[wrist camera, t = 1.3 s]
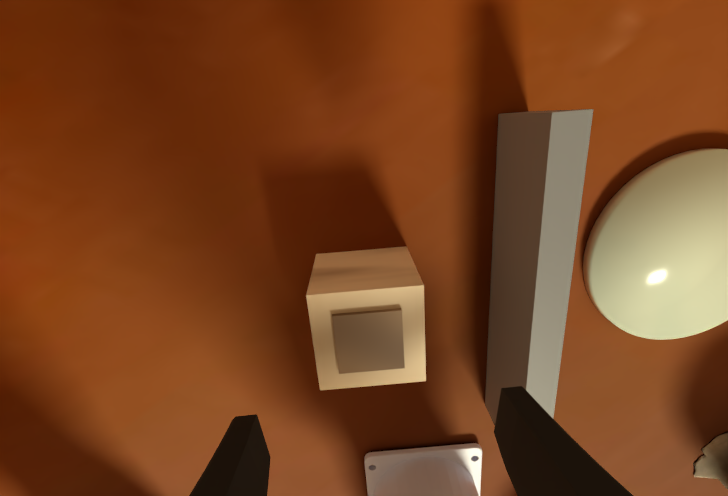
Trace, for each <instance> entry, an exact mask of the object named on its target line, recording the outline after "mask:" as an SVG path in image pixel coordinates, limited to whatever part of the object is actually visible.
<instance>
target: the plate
mask: <svg viewBox="0 0 728 496" xmlns="http://www.w3.org/2000/svg"><path fill="white" fill-rule="evenodd" d="M583 277H584V283H585V287H586V290H587V293H588V295H589V298H590V300H591V301H592V303H593V304H594V306H595V307H596V309H597V310H598V311H599V312H600V313H601V314H602V315H603V316H604V317H606V318H607V319H608V320H610V321H611V322H612V323H613V324H615V325H616V326H617V327H618V328H620V329H622V330H624V331H626V332H627V333H630V334H633V335H635V336H638V337H643V338H648V339H658V340H663V339H676V338H683V337H687V336H691V335H695V334H698V333H701V332H704V331H707V330H709V329H711V328H713V327H716V326H718V325H720V324H722V323H723V322H725V321H727V320H728V149H718V148H709V149H697V150H690V151H686V152H683V153H679V154H675V155H673V156H670V157H668V158H665V159H663V160H661V161H659V162H657V163H655V164H653V165H651V166H649V167H648V168H646V169H645V170H643V171H642V172H640V173H639V174H637V175H636V176H635V177H633V178H632V179H631V180H630V181H629V182H627V183H626V184H625V185H624V186H623V187H622V188H621V189H620V190H619V191H618V192H617V193H616V194H615V195H614V196H613V197H612V198H611V200H610V201H609V202H608V204H607V205H606V206H605V207H604V209H603V210H602V212H601V213H600V215H599V217H598V218H597V220H596V222H595V224H594V226H593V228H592V230H591V232H590V235H589V238H588V241H587V244H586V248H585V253H584V259H583Z"/></svg>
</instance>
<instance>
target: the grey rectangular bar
mask: <svg viewBox="0 0 728 496" xmlns="http://www.w3.org/2000/svg"><path fill="white" fill-rule="evenodd" d="M592 116H593V109H583V110H556V111H529V112H516V113H504V114H499V115H498V136H497V158H496V179H495V200H494V222H493V243H492V265H491V286H490V307H489V329H488V350H487V372H486V393H485V406H486V408H487V410H488V412H489V414H490V416H491V418H492V421H493V423H494V425H495V423H496V417H497V411H498V405H499V399H500V393H501V388H508V387H517V386H522V387H523V388H525V389H526V391H527V392H528V393H529V394H530V395H531V396H532V397H533V398H534V399H535V400H536V401H537V402H538V403H539V404H540V405H541V407H542V408H543V409H544V410H545V411H546V412H547V413H548V414H549V415H550V416H551V417H552V418H553V416H554V409H555V401H556V393H557V386H558V378H559V370H560V363H561V355H562V347H563V339H564V332H565V324H566V316H567V309H568V301H569V293H570V285H571V278H572V270H573V262H574V255H575V247H576V239H577V231H578V224H579V216H580V208H581V201H582V193H583V185H584V177H585V170H586V162H587V154H588V147H589V139H590V131H591V123H592Z"/></svg>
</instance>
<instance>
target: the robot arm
mask: <svg viewBox="0 0 728 496" xmlns="http://www.w3.org/2000/svg"><path fill="white" fill-rule="evenodd" d="M494 434H495V437H496V440H497V443H498V446H499V449H500V452H501V455H502V458H503V461H504V464H505V467H506V470H507V472H508V475H509V477H510V479H511V481H512V484H513V486H514V488H515V490H516V493H517V495H518V496H633V495H632V494H631V493H630V492H629V491H627V490H626V489H625V488H624V487H623V486H622V485H621V484H620V483H619V482H618V481H616V480H615V479H614V478H613V477H612V476H611V475H610V474H609V473H608V472H607V471H606V470H604V469H603V468H602V467H601V466H600V465H599V464H598V463H597V462H596V461H595V460H594V459H593V458H592V457H591V456H590V455H589V454H588V453H587V452H586V451H585V450H584V449H583V448H582V447H581V446H580V445H579V444H578V443H576V442H575V441H574V440H573V439H572V438H571V437H570V436H569V435H568V434H567V433H566V432H565V431H564V429H563V428H562V427H561V426H560V425H559V424H558V423H557V422H556V421H555V420H554V419H553V418H552V417H551V416H550V415H549V414H548V413H547V412H546V411H545V410H544V409H543V408H542V407H541V405H540V404H539V403H538V402H537V401H536V400H535V399H534V398H533V397H532V396H531V395H530V394H529V393H528V392H527V391H526V389H525V388H523V387H522V386H517V387H508V388H501V393H500V399H499V405H498V411H497V417H496V423H495V429H494ZM364 463H365V472H366V482H367V492H368V496H480V489H481V468H482V449H481V447H480V445H479V444H477V443H469V444H458V445H447V446H435V447H424V448H413V449H402V450H390V451H379V452H370V453H367V454H366V455H365V457H364ZM269 467H270V455H269V451H268V448H267V445H266V442H265V439H264V436H263V432H262V429H261V426H260V423H259V420H258V417H257V415H247V416H238V417H235V418H234V419H233V420H232V422H231V424H230V426H229V428H228V430H227V432H226V433H225V435H224V437H223V439H222V441H221V443H220V444H219V446H218V448H217V450H216V452H215V453H214V455H213V457H212V459H211V460H210V462H209V464H208V466H207V467H206V469H205V471H204V472H203V474H202V476H201V477H200V479H199V481H198V482H197V484H196V486H195V487H194V489H193V491H192V492H191V494H190V495H189V496H267V489H268V479H269Z"/></svg>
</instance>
